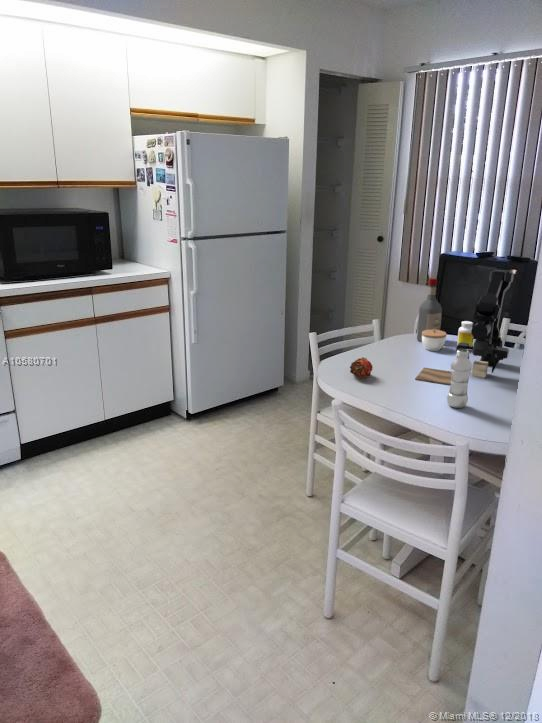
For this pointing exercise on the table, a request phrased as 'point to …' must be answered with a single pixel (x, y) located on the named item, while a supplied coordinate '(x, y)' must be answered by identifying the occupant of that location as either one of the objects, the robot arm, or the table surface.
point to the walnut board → (435, 376)
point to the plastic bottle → (459, 379)
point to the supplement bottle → (465, 333)
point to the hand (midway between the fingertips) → (479, 370)
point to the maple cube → (479, 368)
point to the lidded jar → (433, 339)
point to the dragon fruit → (361, 368)
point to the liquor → (429, 311)
